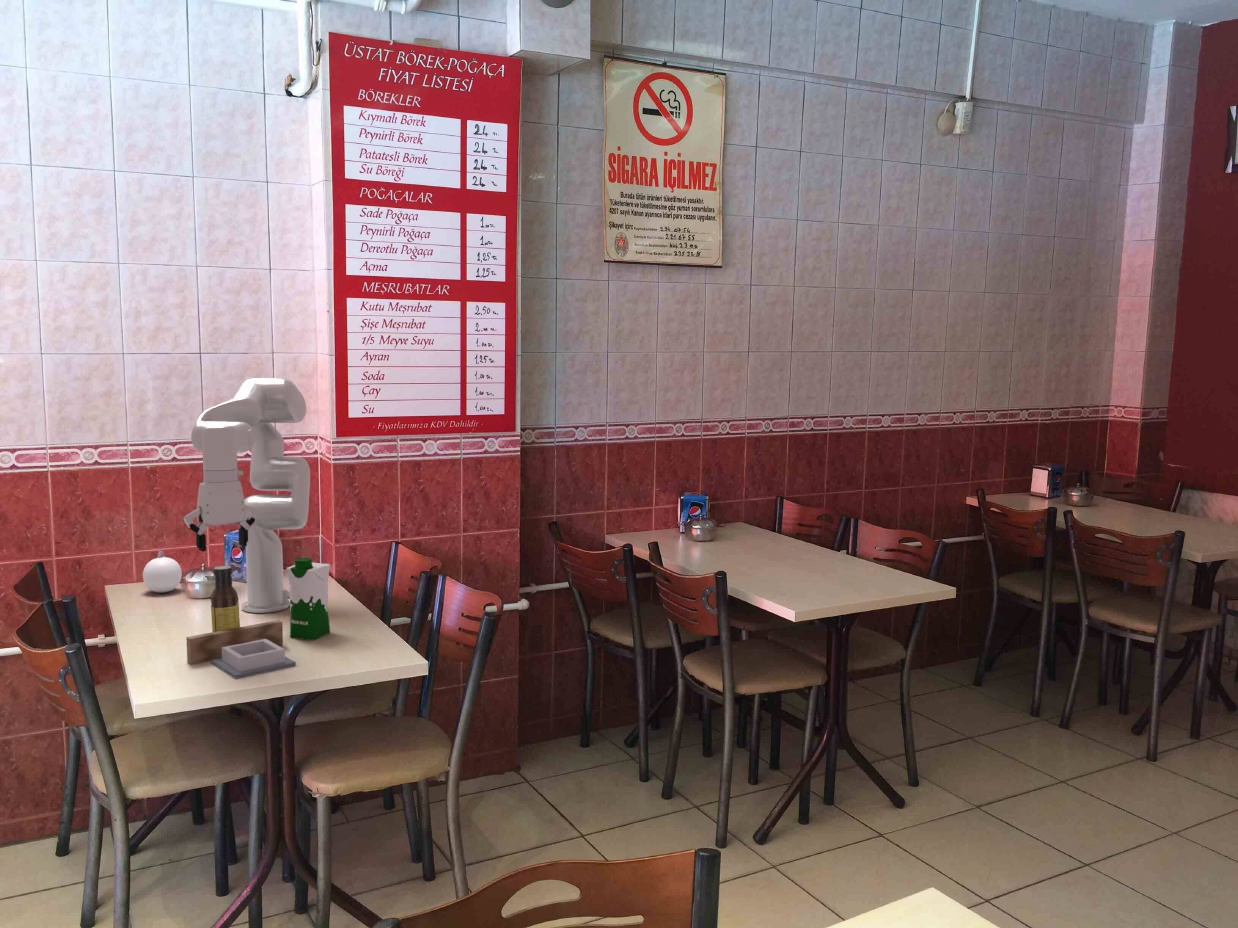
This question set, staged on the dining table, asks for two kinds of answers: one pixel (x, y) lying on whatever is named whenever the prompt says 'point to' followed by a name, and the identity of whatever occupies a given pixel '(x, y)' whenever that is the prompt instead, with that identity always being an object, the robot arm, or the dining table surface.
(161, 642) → the dining table surface
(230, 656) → the holder
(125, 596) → the dining table surface
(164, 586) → the ornament
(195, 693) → the dining table surface
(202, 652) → the walnut wall
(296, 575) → the milk carton
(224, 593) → the sauce bottle
